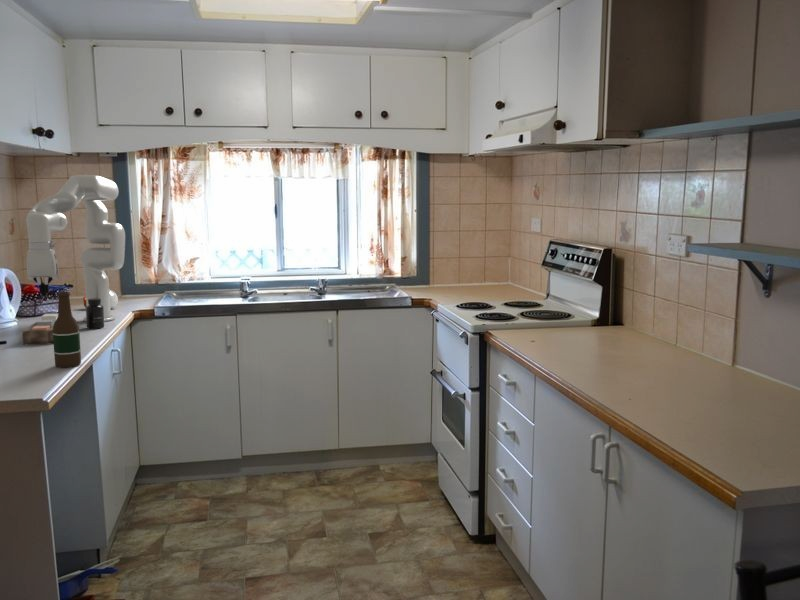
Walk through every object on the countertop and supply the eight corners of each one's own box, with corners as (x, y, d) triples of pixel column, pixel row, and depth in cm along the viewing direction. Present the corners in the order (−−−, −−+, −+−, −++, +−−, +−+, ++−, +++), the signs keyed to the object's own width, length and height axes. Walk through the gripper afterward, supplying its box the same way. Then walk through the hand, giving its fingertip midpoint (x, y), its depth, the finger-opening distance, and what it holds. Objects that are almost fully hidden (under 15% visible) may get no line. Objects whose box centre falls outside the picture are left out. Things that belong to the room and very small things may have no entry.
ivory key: (45, 324, 279) (45, 314, 278) (59, 323, 280) (58, 313, 280) (42, 326, 274) (41, 316, 274) (56, 325, 275) (55, 315, 275)
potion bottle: (119, 312, 339) (87, 316, 337) (121, 298, 345) (90, 302, 344) (114, 298, 332) (80, 302, 330) (116, 284, 339) (83, 288, 337)
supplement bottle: (98, 329, 288) (96, 300, 287) (83, 329, 290) (81, 299, 288) (108, 326, 295) (106, 298, 293) (93, 325, 296) (91, 297, 295)
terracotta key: (36, 336, 266) (35, 325, 265) (50, 335, 267) (50, 325, 266) (32, 339, 261) (31, 328, 260) (47, 338, 262) (46, 327, 262)
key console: (23, 344, 260) (22, 331, 259) (38, 333, 280) (37, 321, 279) (55, 343, 262) (54, 330, 261) (68, 332, 282) (68, 320, 282)
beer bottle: (49, 367, 226) (44, 293, 223) (65, 362, 234) (60, 289, 230) (71, 368, 225) (66, 294, 221) (86, 363, 232) (82, 290, 229)
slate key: (41, 330, 273) (40, 319, 272) (55, 329, 274) (54, 319, 273) (37, 332, 268) (36, 322, 267) (51, 332, 269) (51, 321, 268)
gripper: (64, 245, 271) (68, 292, 274) (21, 245, 268) (26, 293, 271) (59, 247, 264) (63, 295, 267) (15, 247, 261) (20, 297, 264)
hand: (44, 294), depth 269 cm, fingers closed
